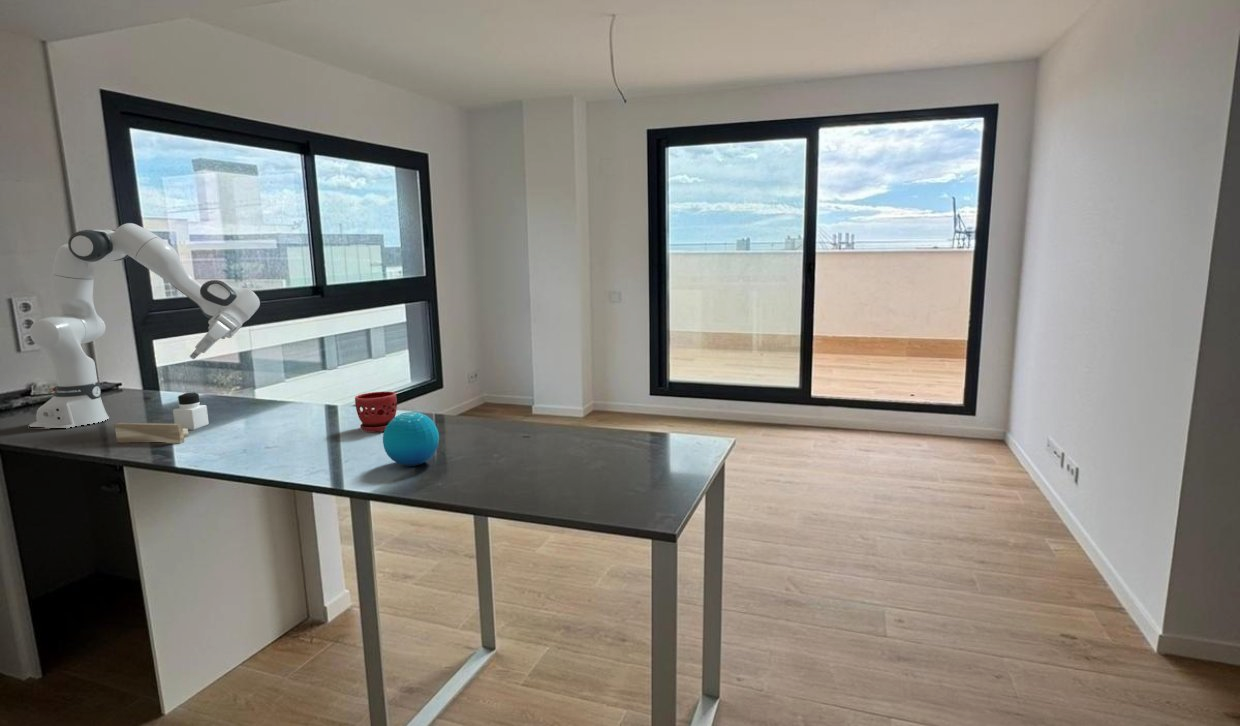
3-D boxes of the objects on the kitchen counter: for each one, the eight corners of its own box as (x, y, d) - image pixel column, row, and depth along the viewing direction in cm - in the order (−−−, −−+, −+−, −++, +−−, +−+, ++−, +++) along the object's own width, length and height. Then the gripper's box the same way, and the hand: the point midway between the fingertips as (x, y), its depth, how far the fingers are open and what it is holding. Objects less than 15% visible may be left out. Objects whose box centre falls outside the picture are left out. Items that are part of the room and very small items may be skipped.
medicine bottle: (209, 424, 225) (205, 391, 223) (194, 430, 218) (189, 395, 216) (190, 424, 226) (186, 391, 224) (174, 429, 219) (170, 395, 217)
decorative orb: (431, 453, 190) (428, 403, 187) (447, 466, 177) (444, 414, 175) (379, 462, 182) (375, 411, 179) (392, 477, 170) (387, 422, 167)
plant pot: (405, 424, 223) (403, 390, 221) (385, 434, 210) (382, 399, 208) (371, 423, 225) (368, 389, 223) (349, 433, 212) (346, 398, 210)
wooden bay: (138, 435, 213) (136, 417, 212) (199, 436, 211) (197, 418, 210) (117, 442, 205) (114, 424, 204) (180, 443, 203) (178, 425, 202)
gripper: (208, 327, 232) (180, 355, 225) (221, 313, 218) (191, 342, 210) (224, 338, 235) (196, 366, 228) (237, 325, 221) (208, 355, 213)
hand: (194, 355), depth 219 cm, fingers open, 8 cm apart
